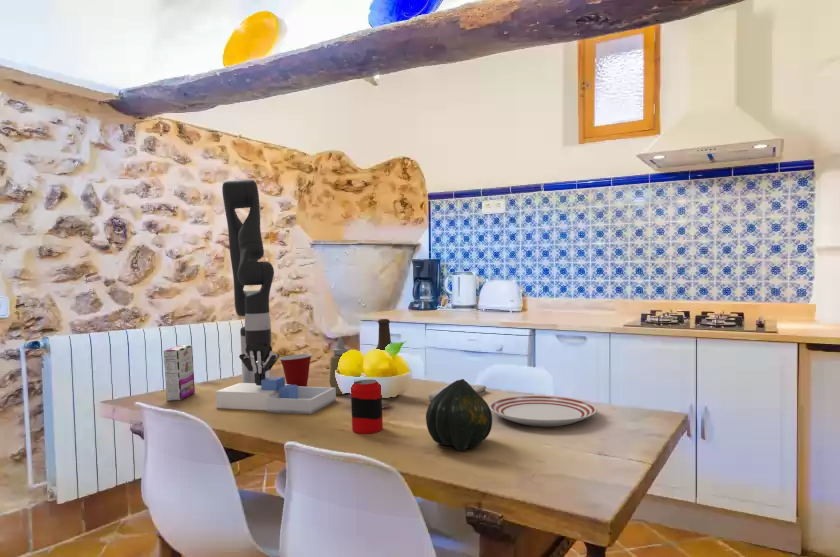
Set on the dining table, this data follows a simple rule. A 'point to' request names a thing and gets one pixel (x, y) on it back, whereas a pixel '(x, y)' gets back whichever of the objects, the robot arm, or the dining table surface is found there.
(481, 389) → the washcloth
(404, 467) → the dining table surface
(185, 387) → the candy bar box
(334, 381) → the squeeze bottle
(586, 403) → the dinner plate
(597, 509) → the dining table surface
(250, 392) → the white flat block
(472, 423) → the squash
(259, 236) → the robot arm
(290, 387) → the tile
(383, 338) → the beer bottle
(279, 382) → the tile
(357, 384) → the soda can
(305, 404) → the box
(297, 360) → the plastic cup
